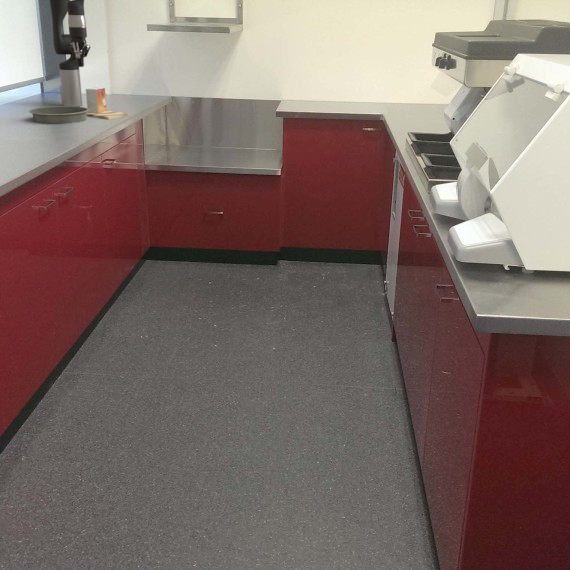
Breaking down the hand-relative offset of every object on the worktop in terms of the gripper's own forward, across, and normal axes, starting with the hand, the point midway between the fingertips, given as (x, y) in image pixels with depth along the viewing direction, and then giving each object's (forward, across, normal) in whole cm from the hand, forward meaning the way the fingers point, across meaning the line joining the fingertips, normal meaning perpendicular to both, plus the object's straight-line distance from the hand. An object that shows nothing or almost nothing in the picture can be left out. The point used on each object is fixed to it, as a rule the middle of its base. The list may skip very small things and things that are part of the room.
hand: (80, 66), depth 309 cm
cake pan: (+21, +9, -21) cm, 31 cm away
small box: (+20, +9, 0) cm, 21 cm away
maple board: (+20, +14, 0) cm, 25 cm away
